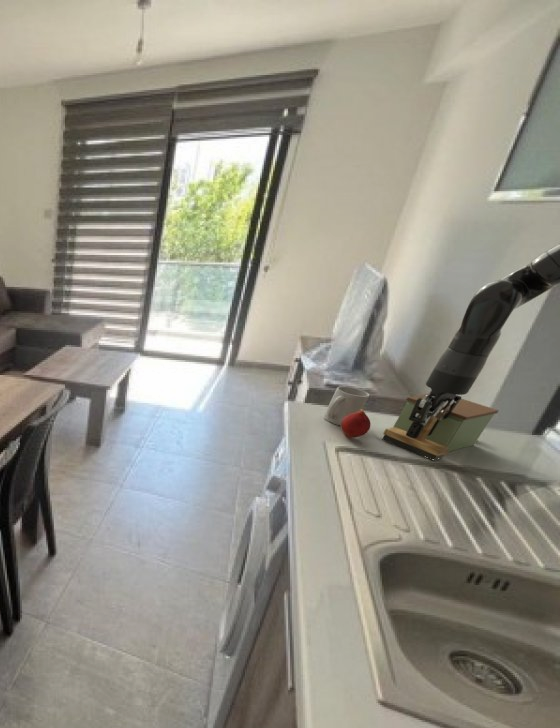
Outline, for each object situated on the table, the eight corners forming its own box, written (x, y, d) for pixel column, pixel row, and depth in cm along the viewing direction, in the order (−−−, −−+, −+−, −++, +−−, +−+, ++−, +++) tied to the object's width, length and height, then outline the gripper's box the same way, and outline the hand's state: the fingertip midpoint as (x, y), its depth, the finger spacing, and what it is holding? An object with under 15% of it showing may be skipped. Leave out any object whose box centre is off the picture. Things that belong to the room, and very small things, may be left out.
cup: (360, 425, 132) (375, 394, 127) (337, 429, 128) (352, 398, 124) (333, 414, 137) (347, 385, 133) (310, 418, 134) (324, 388, 129)
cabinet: (475, 445, 124) (499, 410, 119) (442, 454, 118) (465, 417, 114) (420, 424, 134) (439, 391, 129) (386, 431, 129) (405, 397, 124)
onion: (361, 437, 125) (376, 409, 121) (363, 445, 120) (378, 416, 116) (334, 430, 127) (348, 403, 123) (336, 438, 123) (350, 410, 119)
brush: (443, 459, 116) (464, 425, 112) (434, 461, 115) (454, 428, 110) (389, 437, 126) (406, 405, 121) (380, 439, 124) (397, 407, 120)
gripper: (459, 378, 104) (418, 446, 113) (493, 373, 110) (452, 438, 118) (419, 367, 110) (383, 432, 119) (454, 362, 116) (417, 425, 124)
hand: (418, 435), depth 118 cm, fingers open, 5 cm apart
